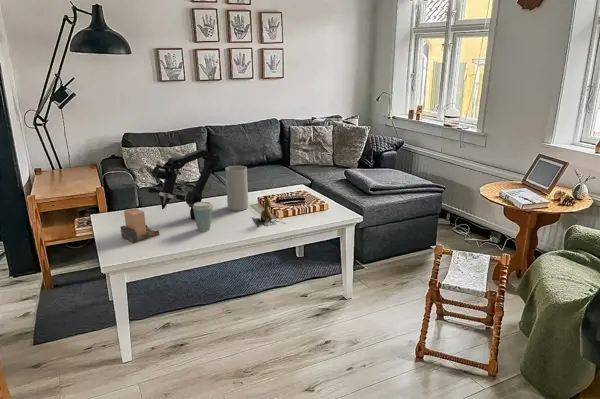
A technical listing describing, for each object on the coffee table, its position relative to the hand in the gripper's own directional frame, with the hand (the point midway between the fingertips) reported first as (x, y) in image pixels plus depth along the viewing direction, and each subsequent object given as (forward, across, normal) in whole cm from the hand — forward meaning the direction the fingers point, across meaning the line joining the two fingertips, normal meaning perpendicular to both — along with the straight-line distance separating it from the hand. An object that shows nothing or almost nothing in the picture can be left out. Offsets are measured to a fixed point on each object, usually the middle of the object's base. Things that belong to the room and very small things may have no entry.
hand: (162, 209), depth 240 cm
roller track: (+16, +6, +6) cm, 18 cm away
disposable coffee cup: (+5, -24, +2) cm, 25 cm away
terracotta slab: (+14, +8, +8) cm, 19 cm away
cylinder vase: (-9, -39, -30) cm, 50 cm away
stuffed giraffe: (-7, -57, -8) cm, 58 cm away
